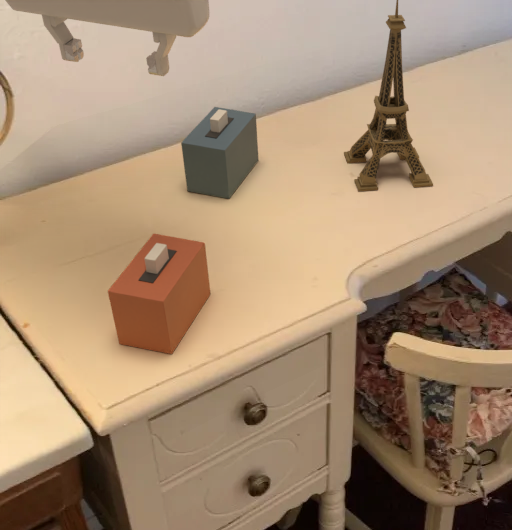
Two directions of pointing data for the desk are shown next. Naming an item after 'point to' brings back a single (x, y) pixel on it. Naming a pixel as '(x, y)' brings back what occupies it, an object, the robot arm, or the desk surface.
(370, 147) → the eiffel tower
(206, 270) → the terracotta tissue box
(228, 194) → the slate tissue box
